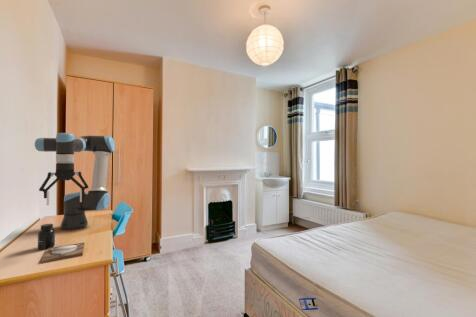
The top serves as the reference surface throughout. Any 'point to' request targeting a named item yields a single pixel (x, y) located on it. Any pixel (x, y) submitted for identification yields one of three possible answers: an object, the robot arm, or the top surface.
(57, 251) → the board
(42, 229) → the supplement bottle
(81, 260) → the top surface
